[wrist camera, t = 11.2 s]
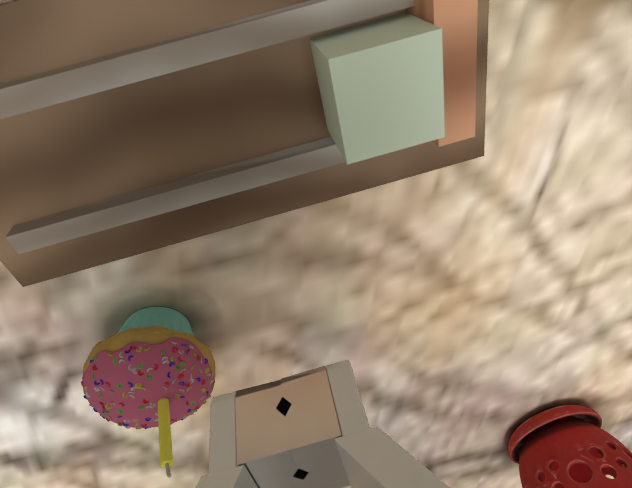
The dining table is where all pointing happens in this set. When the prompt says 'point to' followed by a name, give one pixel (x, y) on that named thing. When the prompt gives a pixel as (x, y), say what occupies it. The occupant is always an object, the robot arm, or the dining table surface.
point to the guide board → (191, 120)
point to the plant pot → (569, 451)
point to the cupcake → (150, 374)
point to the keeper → (381, 85)
